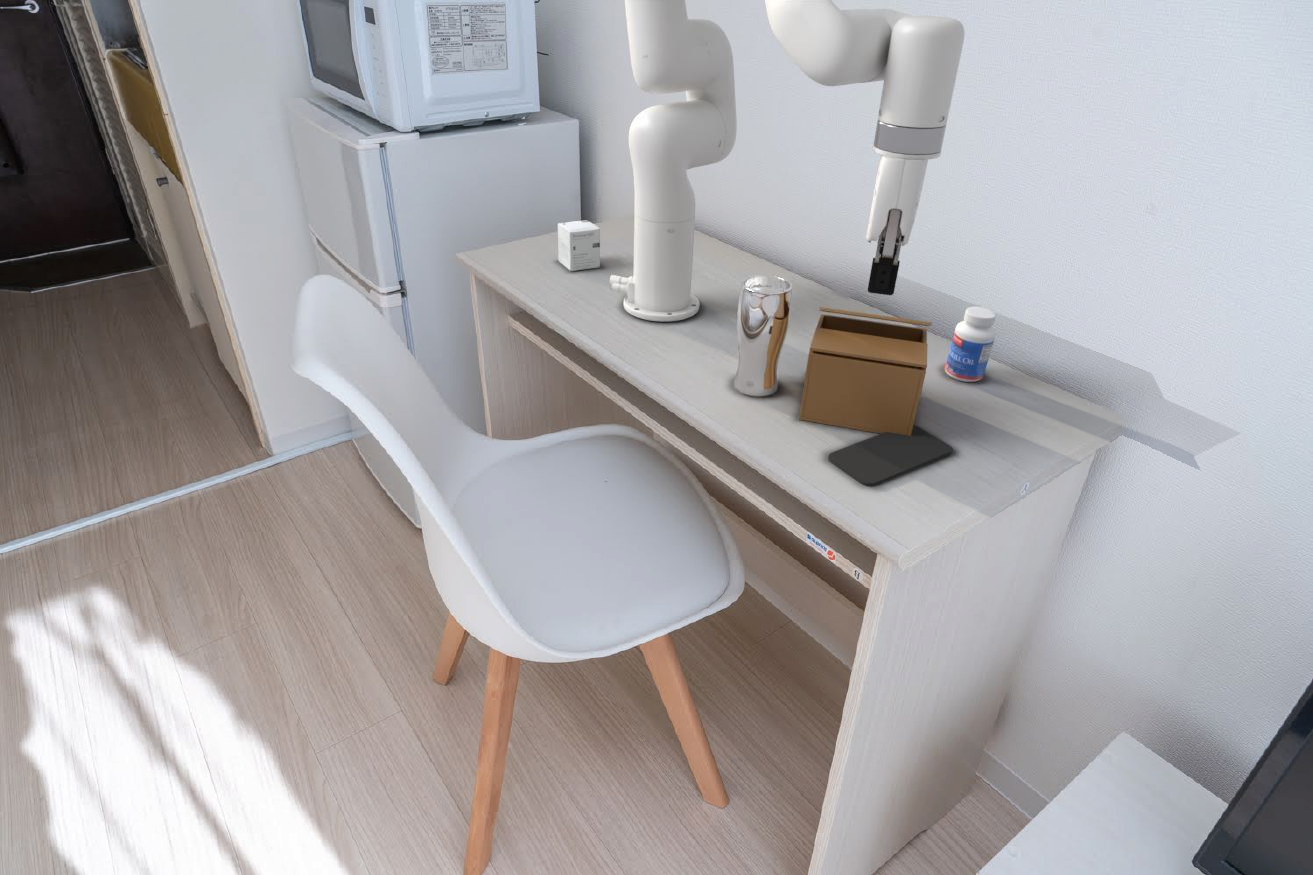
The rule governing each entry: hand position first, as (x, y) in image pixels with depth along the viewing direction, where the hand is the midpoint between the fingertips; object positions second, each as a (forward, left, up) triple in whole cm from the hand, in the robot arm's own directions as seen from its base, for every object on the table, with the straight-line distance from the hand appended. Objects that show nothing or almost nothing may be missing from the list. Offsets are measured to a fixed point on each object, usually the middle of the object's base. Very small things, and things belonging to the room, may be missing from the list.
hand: (880, 291), depth 101 cm
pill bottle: (+14, +13, -16) cm, 24 cm away
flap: (0, +2, -4) cm, 5 cm away
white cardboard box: (-54, +35, -16) cm, 66 cm away
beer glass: (-14, -1, -16) cm, 21 cm away
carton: (0, -2, -16) cm, 16 cm away
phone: (+5, -13, -16) cm, 21 cm away
